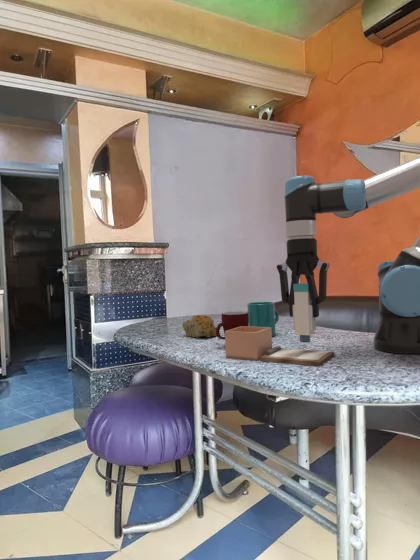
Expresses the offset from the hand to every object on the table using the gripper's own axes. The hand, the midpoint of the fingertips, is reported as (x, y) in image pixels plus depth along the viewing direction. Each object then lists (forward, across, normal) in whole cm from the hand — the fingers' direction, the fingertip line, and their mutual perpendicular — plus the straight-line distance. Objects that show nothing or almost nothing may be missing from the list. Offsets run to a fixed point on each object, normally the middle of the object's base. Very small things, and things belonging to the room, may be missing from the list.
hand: (304, 329), depth 105 cm
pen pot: (+7, +14, +4) cm, 16 cm away
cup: (+7, +23, -26) cm, 35 cm away
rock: (+7, +44, -18) cm, 48 cm away
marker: (+3, 0, 0) cm, 3 cm away
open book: (+7, +1, +4) cm, 8 cm away
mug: (+7, +24, -4) cm, 25 cm away
